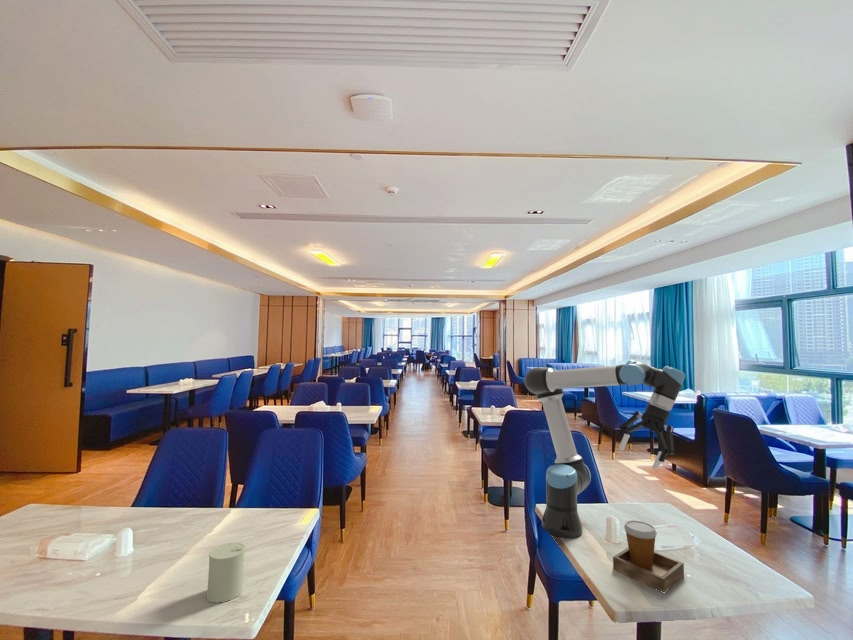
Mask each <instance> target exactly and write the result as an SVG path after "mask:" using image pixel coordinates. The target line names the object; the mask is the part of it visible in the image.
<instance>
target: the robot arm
mask: <svg viewBox="0 0 853 640" xmlns="http://www.w3.org/2000/svg"><path fill="white" fill-rule="evenodd" d="M685 378H686V374H685V373H684V372H683V371H682V370H679V369H677V368H674V367H671V366H668V365H665V366H663V368H662V369H660V368H656V367H654V366H651V365H648V364H646V363H643V362H641V361H638V360H634V359H629V360H628V361H627V362H626V364H618V365H617V364H615V365H603V366H593V367H591V366H590V367H583V368H582V367H580V368H571V369H559V370H558V369H556V368H553V367H550V366H542V367H533V368H532V369H531V368H530V370H528V371H527V372H526V373H525V376H524V380H523V381H524V385H525V387H526V389H527V390H528V391H529V392H530V393H532V394H534V395H536V398H537V400H538V401H539V402H541V404H542V407H543V411H544V414H545V415H544V416H545V418H546V422H547V425H548V429H549V432H550V436H551V437H550V438H551V440H552V443H553V447H554V450H555V454H556V457H555V460H554V464H553V465H550V466H549V467H547V469H546V473H545V474H546V475H545V495H546V499H545V501H546V503H545V504H546V505H545V506H546V507H545V509H544V512H543V516H542V518H541V527H542V529H543V530H544V531H545V532H547V533H549V534H551V535H553V536H556V537H561V538H571V539H572V538H577V537H580V536H581V535H582V534H583V525H582V522H581V519H580V515H579V513H578V495H580V494H581V493H582V492H583V491H585V490H586V489H588V487H589V485H590V483H591V481H592V480H591V479H592V474H591V471H590V469H589V467H588V465H586V464H585V462H584V459H583V457H582V456H581V455H580V454H578V451H577V448H576V445H575V441H574V437H573V434H572V431H571V428H570V424H569V421H568V417H567V413H566V410H565V406H564V403H563V400H562V398H563V396H564V390H563V389H578V388H579V389H580V388H595V387H598V388H599V387H611V386H637V385H640V384H641V385H642V384H643V385H644V386H648V387H650V388H653V389H654V390H653V392H652V394H651V396H650V399H648V400H649V401H648V402H649V403H648V404H647V405H646V408H645V410H644V413H642V412H639V411H637V410H636V411H635V412H634V413H633V415H632V416H631V417H630V418H628V419H627V420H626V421H625V422H623V423H622V424H621V425H619V426H618V428H619V429H620V431H622V433H621V435H620V438H619V441H620V442H619V443H620V444H619V445H618V448H617V449H618V450H619V451H625V448H626V446H627V444H628V441H629V440H630V439H629V438H630V436H631V435H630V434H631V433H633V432H635V431H638V430H640V429H643V428H644V429H647V430H649V431H651V432H653V433H655V435H656V438H657V442H658V444H659V447H660V451H658V453H657V456H656V457H655V460H654V462H653V465H652V466H651V468H652V469H654V470H658V469H659V467H660V466H661V463H664V462H665V460H666V458H667V456H668V455H672V456H674V455H675V444H674V436H673V433H674V429H675V428H674V426H672V425H667V424H666V423H667V421H668V418H669V416H670V411H672V410H673V407H674V404H675V402H676V399H677V398H678V395H679V393H680V391H681V388H682V387H683V383H684V381H685ZM639 419H641V421H639V422H637V423H636V421H638V420H639ZM634 423H636V424H634ZM663 430H665V437H666V438H665V437H664V433H663ZM665 440H666V441H665Z"/></svg>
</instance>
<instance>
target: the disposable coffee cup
mask: <svg viewBox="0 0 853 640" xmlns="http://www.w3.org/2000/svg"><path fill="white" fill-rule="evenodd" d="M623 529H624V531H625V534H626V540H627V546H628V547H629V553H630V559H631V563H632V564H634V565H636V566H639V567H641V568H643V569H651V568H652V567H653V557H654V551H655V543H656V537H657V534H658V532H657V531H656V528H655V527H654V526H653V525H652V524H651V523H648V522H646V521H645V522H644V521H641V520H636V519H635V520H633V519H632V520H628V521H627V520H626V521H625V525H623ZM628 547H627V548H628Z"/></svg>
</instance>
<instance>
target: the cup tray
mask: <svg viewBox="0 0 853 640" xmlns="http://www.w3.org/2000/svg"><path fill="white" fill-rule="evenodd" d="M684 566H685V565H684V562H682V561H679V560H678V559H674V558H672V557H670V556H667V555H664V554H662V553H660V552H657V551H655V550H654V557H653V567H652V568H651V569H643V568H641V567H639V566H636V565H634V564H632V563H631V559H630V553H629V547H626V548H625V549H623V550H622V551H619V552H618V553H617V554H615V555H613V556H612V569H613V571H614V572H615V571H616V573H617V572H618V573H619V574H621V575H624V576H625V577H628V578H630V579H632V580H634V581H636V582H638V583H640V584H643V585H645V586H647V587H649V588H651V587H652V588H651V589H653V588H654V589H653V590H655V589H657V590H659V591H662V592H665V591H666V590H667V589H669V588H670V587H671V586H672V587H673V586H674V584H675V583H676V584H677V583H679V582H680V581H681V580H682V579H684V577H685V567H684ZM676 584H675V585H676ZM672 587H671V588H672ZM671 588H670V589H671ZM670 589H669V590H670ZM657 590H656V591H657ZM659 591H658V592H659ZM666 592H667V591H666ZM666 592H665V593H666Z"/></svg>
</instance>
